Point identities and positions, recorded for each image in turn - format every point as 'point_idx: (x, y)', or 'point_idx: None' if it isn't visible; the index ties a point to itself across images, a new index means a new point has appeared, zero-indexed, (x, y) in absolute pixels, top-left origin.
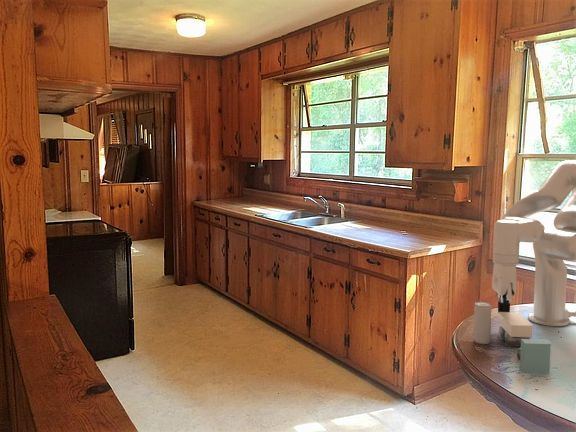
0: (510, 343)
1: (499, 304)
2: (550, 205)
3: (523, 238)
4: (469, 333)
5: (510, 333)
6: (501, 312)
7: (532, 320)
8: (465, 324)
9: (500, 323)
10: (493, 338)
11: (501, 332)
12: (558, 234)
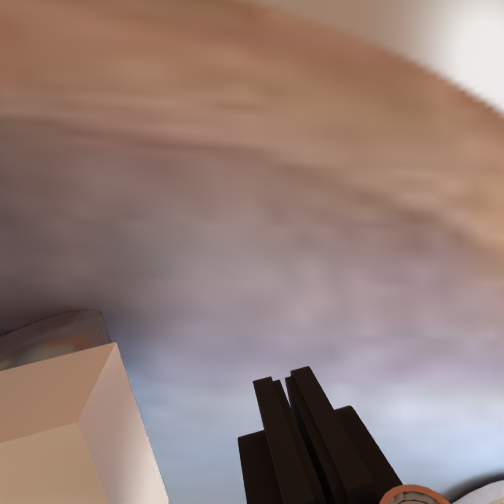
0: None
1: (285, 472)
2: None
3: None
4: (96, 64)
5: None
6: (67, 457)
7: (465, 502)
8: (328, 42)
9: (30, 370)
10: (46, 261)
11: (26, 341)
12: None
